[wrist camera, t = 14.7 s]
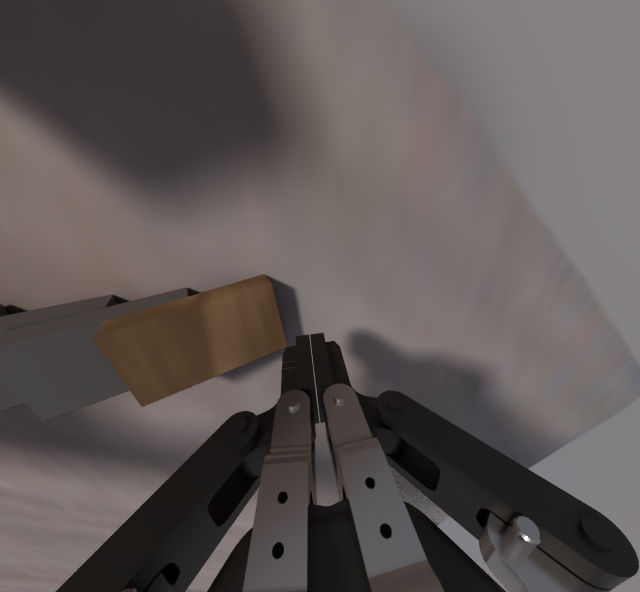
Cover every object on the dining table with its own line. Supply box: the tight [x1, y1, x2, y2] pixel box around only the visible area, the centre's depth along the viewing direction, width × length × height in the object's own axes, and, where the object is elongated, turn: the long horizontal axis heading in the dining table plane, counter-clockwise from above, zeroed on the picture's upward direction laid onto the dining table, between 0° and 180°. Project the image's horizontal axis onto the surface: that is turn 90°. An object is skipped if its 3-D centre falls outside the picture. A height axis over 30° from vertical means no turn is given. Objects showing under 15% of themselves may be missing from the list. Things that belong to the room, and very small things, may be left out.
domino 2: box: [0, 288, 190, 422], centre depth 15 cm, size 2×5×9 cm
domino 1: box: [0, 295, 118, 411], centre depth 15 cm, size 2×5×9 cm
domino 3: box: [93, 275, 287, 407], centre depth 15 cm, size 2×5×9 cm
